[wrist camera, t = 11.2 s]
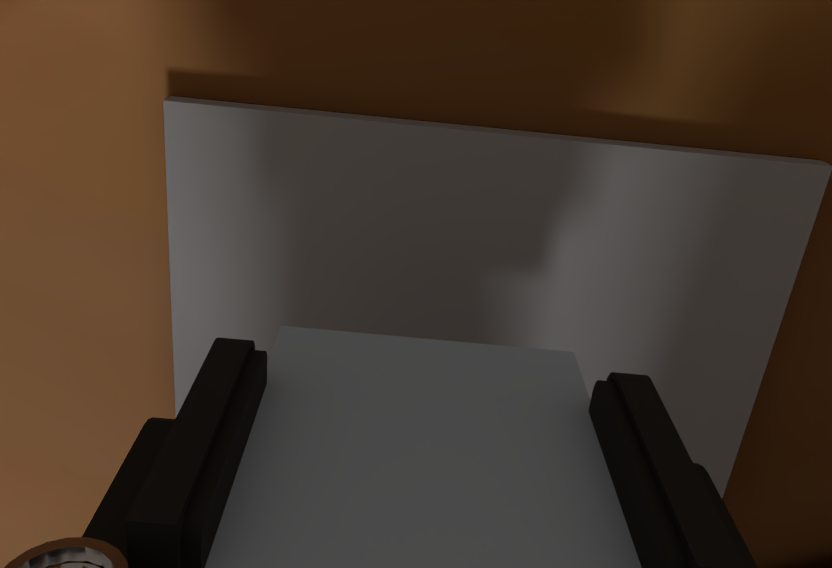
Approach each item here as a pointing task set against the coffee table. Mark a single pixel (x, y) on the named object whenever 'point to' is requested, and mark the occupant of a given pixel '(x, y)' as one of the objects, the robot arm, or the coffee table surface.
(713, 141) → the coffee table surface
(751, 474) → the coffee table surface
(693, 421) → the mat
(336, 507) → the gray block
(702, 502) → the robot arm
